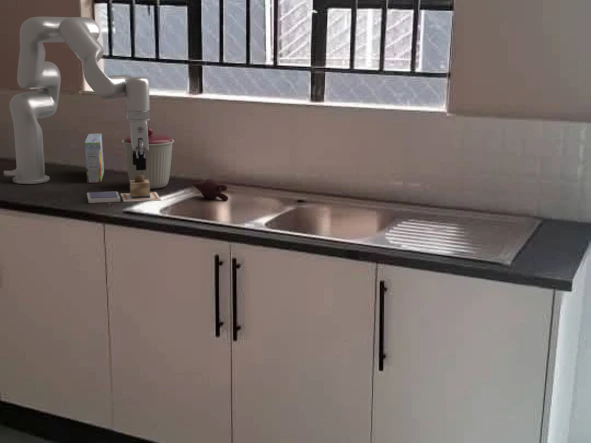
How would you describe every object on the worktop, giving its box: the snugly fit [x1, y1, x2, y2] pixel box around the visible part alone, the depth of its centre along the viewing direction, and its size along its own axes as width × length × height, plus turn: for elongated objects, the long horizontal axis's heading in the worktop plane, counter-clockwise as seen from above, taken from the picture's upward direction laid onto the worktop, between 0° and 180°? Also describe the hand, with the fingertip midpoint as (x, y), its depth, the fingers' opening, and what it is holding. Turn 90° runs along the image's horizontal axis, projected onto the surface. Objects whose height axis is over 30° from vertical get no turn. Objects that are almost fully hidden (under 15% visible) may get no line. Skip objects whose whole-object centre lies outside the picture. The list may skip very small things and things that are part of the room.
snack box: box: [84, 133, 105, 184], centre depth 305 cm, size 21×6×15 cm, turn 10°
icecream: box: [191, 178, 229, 202], centre depth 275 cm, size 7×7×15 cm
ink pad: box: [86, 190, 121, 204], centre depth 272 cm, size 10×10×2 cm
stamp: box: [129, 175, 151, 199], centre depth 274 cm, size 6×6×7 cm
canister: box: [121, 126, 175, 190], centre depth 290 cm, size 18×18×21 cm
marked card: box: [120, 191, 162, 203], centre depth 275 cm, size 12×12×1 cm
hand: (139, 167), depth 273 cm, fingers open, 9 cm apart
